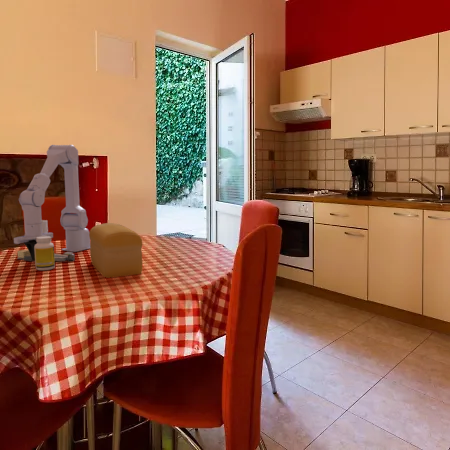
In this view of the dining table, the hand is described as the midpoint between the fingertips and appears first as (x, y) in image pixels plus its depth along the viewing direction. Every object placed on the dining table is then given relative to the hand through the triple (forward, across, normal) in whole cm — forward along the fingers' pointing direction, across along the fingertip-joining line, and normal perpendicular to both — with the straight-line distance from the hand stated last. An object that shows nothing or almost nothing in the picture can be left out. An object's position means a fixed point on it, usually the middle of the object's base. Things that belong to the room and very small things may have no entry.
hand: (35, 260), depth 145 cm
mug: (+1, -18, -21) cm, 28 cm away
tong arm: (+1, -4, +2) cm, 5 cm away
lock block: (+1, -2, -10) cm, 10 cm away
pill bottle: (+1, +4, +10) cm, 11 cm away
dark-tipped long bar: (+1, -9, +1) cm, 9 cm away
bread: (+1, -9, +30) cm, 32 cm away
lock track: (+1, -2, -7) cm, 8 cm away
